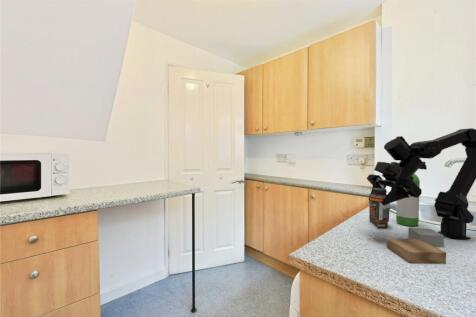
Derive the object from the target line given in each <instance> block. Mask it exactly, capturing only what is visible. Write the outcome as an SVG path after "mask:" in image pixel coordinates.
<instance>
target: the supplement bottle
mask: <svg viewBox="0 0 476 317" xmlns="http://www.w3.org/2000/svg"><path fill="white" fill-rule="evenodd" d="M387 195H388V193H387V189H386V188H385V189H384V188H373V194H371V195H370V194H369V196H370V209H369V210H368V212H369V215H368V218H369V219H370V220H371V221H373V222H377V223H388V224H389V222H390V209H389V207H390V204H391V203H389V204H387V205H382V201H383V200H384V198H385V197H386V196H387ZM369 219H368V220H369Z"/></svg>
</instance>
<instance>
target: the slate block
mask: <svg viewBox="0 0 476 317" xmlns="http://www.w3.org/2000/svg"><path fill="white" fill-rule="evenodd" d="M407 233H408V234H407V236H408V238H407V239H420V240H422V241H424V242H426V243H428V244H430V245H432V246H434V247H436V248H444V247H445V236H444V235H442V234H440V233H438V231H436V230H434V229H432V228H425V227H411V226H408V231H407Z"/></svg>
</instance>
